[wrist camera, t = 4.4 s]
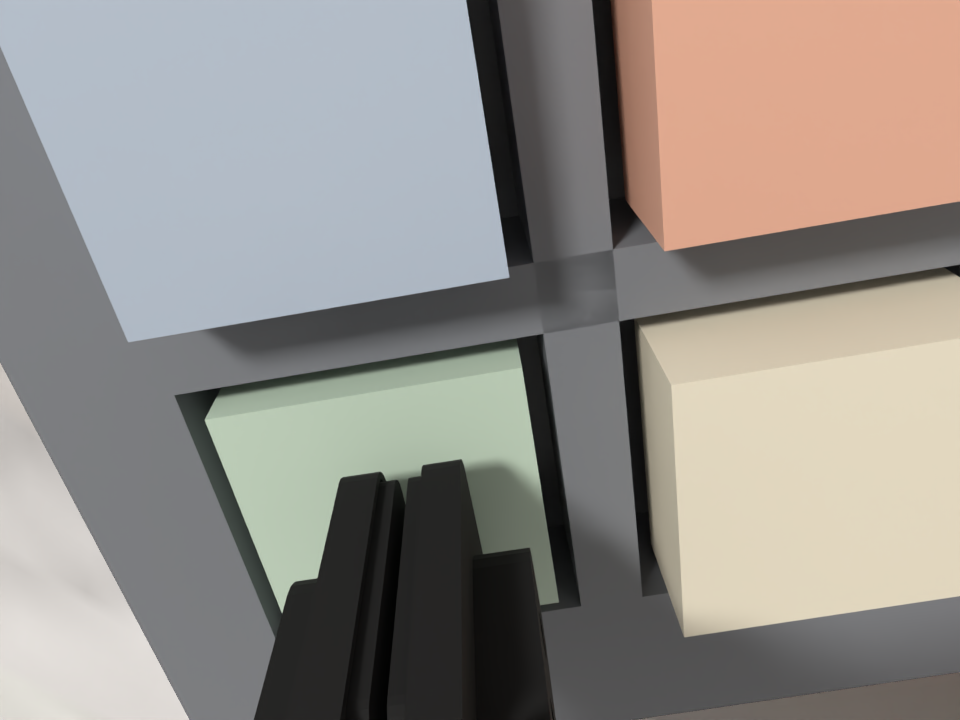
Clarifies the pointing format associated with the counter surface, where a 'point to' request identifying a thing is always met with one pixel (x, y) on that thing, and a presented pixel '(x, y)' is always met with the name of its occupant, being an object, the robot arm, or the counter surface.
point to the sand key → (804, 451)
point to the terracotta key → (784, 112)
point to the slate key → (262, 151)
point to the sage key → (382, 450)
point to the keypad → (436, 327)
